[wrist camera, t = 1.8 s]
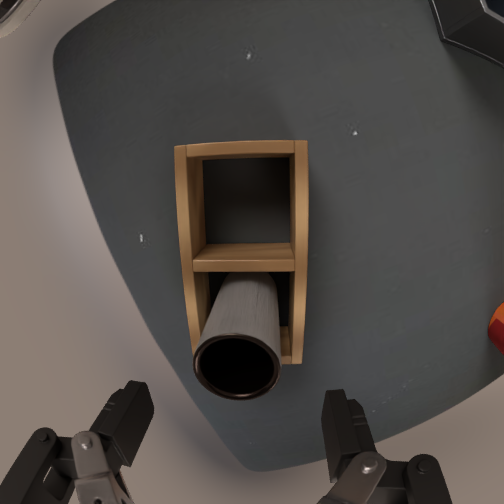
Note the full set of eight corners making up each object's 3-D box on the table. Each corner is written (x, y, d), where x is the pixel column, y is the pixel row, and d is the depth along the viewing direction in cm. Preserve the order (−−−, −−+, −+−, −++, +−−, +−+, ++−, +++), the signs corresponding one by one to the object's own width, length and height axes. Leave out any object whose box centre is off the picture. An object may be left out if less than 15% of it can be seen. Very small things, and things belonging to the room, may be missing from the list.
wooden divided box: (192, 150, 21) (173, 145, 16) (299, 147, 20) (307, 140, 16) (205, 332, 25) (193, 362, 20) (297, 333, 24) (301, 364, 20)
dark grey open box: (413, -37, 13) (441, -71, 6) (488, -2, 12) (521, -23, 5) (440, 40, 16) (485, 11, 9) (513, 73, 15) (557, 62, 8)
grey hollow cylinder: (227, 259, 23) (197, 323, 13) (283, 272, 23) (292, 344, 13) (217, 309, 24) (187, 390, 14) (269, 320, 24) (268, 407, 14)
